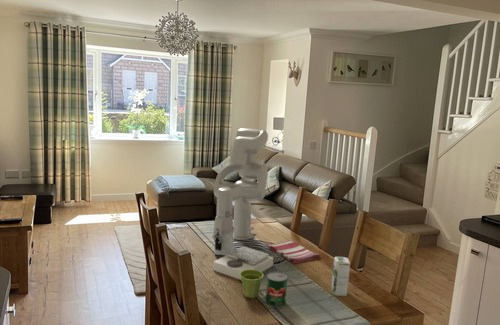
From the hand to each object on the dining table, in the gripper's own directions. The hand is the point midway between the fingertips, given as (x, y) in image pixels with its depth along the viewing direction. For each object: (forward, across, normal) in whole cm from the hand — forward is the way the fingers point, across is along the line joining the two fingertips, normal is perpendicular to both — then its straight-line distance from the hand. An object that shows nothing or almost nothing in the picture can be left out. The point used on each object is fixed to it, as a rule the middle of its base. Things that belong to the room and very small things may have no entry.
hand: (223, 247), depth 205 cm
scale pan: (-1, +3, +17) cm, 17 cm away
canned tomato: (+3, +25, +45) cm, 52 cm away
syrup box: (+3, +1, +61) cm, 61 cm away
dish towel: (+5, -25, +26) cm, 36 cm away
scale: (+3, +7, +17) cm, 19 cm away
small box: (+3, 0, 0) cm, 3 cm away
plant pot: (+3, +26, +34) cm, 43 cm away
